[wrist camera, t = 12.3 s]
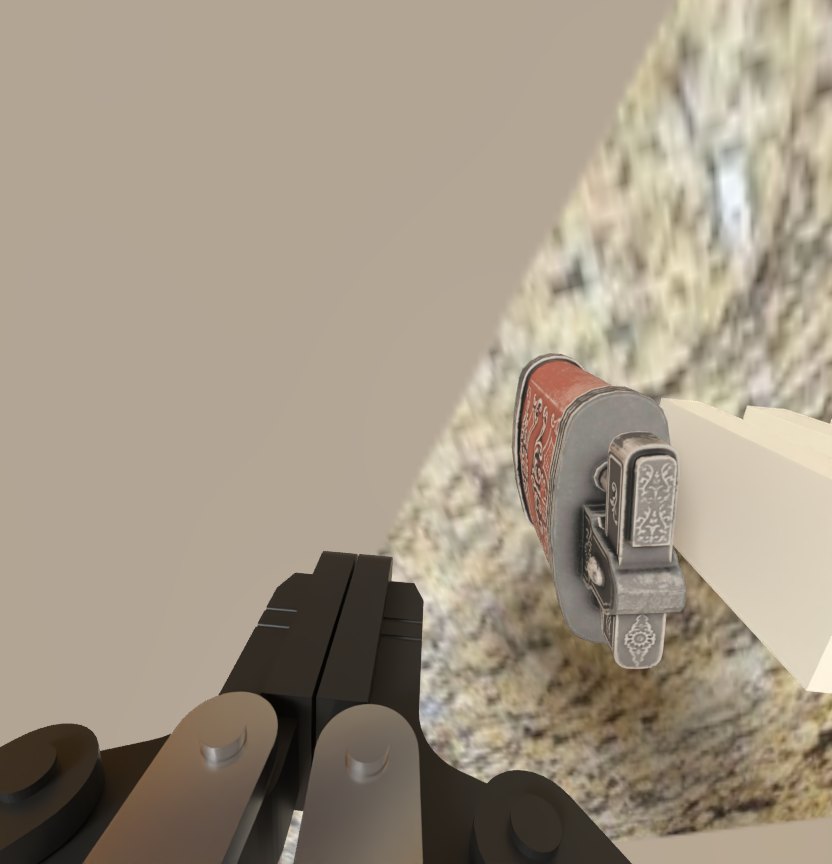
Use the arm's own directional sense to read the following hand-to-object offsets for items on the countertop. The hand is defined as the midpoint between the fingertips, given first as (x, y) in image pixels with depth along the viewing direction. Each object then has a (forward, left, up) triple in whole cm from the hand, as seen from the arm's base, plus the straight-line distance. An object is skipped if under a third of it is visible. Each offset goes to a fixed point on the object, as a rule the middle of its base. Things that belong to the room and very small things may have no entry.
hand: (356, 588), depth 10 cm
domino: (-12, 0, -11) cm, 16 cm away
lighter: (-7, 0, -11) cm, 13 cm away
